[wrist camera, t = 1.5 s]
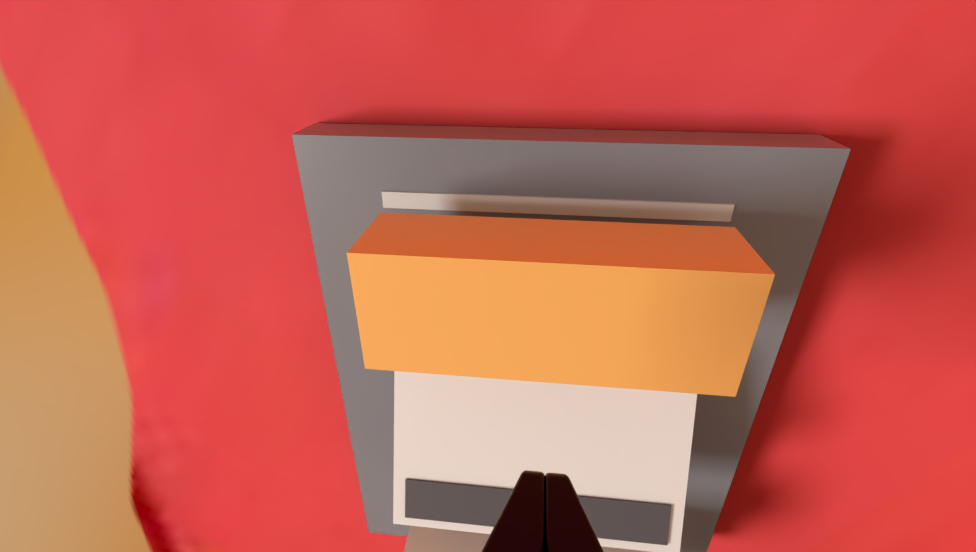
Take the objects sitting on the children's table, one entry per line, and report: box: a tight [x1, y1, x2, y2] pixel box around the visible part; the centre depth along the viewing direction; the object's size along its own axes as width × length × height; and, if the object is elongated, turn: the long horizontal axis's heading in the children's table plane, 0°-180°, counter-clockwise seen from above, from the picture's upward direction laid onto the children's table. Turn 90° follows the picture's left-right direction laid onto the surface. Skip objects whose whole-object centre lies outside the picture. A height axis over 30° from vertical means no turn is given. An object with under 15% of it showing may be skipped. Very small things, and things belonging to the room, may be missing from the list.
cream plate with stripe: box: [393, 371, 697, 552], centre depth 19 cm, size 11×7×1 cm, turn 91°
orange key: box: [347, 212, 775, 397], centre depth 15 cm, size 11×4×3 cm, turn 91°
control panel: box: [292, 123, 851, 552], centre depth 21 cm, size 18×22×4 cm
